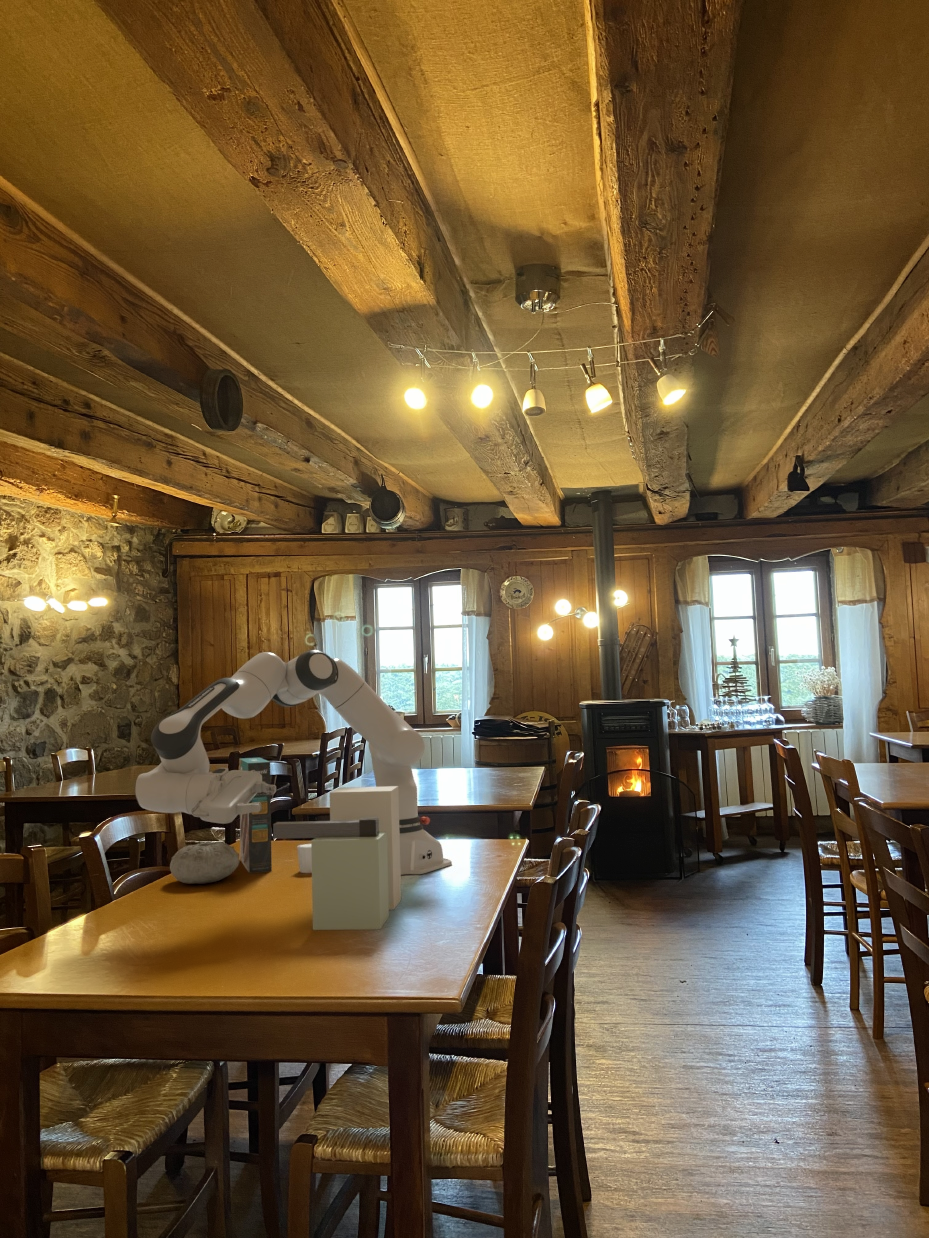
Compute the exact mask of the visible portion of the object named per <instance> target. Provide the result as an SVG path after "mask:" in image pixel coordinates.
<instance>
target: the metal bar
mask: <svg viewBox="0 0 929 1238" xmlns="http://www.w3.org/2000/svg"><path fill="white" fill-rule="evenodd" d="M272 826H273V828H272V829H273V839H277V840H278V839H280V840H281V839H315V838H328V837H376V836H377V835H379V817H372V818H361V819H360V820H351V821H330V820H315V821H313V820H312V821H276V822H275V823H273V824H272Z"/></svg>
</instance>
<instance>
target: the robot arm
mask: <svg viewBox="0 0 929 1238" xmlns="http://www.w3.org/2000/svg"><path fill="white" fill-rule="evenodd" d="M317 694H318V695H320V696H322V697H324V698H325V699H326V701H327V702H328V703H329V704H330V705H331V707H332V708H333V709H334V710H335V711H336V712H337V714H339V715H340V716H341V717H342V718H343V720H344V721H345V722H346V723H347V724H348V725H349V726H350V727H351V729H352V730H354V732H356V733H358V735H360V736H361V737H362V738H363V739H364V740H365V741H366V742H367V743H368V750H369V753H370V757H371V764H372V770H373V777H374V781H375V782H374V783H375V787H386V786H398V795H399V833H400V871H401V876H402V875H422V874H426V873H429V872H432V871H436V870H439V869H442V868H445V867H449V866H451V865H453V864H452V863H453V862H452V861H451V859H448V858H444V853H443V847H442V844H441V842H440V841H439V840H437V839H436V838H435V837H434V836H432V835H431V834H430V833H429V832H427V831H426V830H425V829H424V825H429V824H430V822H431V819H430V818H429V817H428V816H422V817H420V816H419V815H418V813H419V812H418V811H419V810H418V788H417V787H418V786H417V783H416V782H415V779H414V775H413V770H412V765H415V764H417V763H418V762H419V761H420V760H421V759H422V757H423V756H424V753H425V741H424V739H423V737H422V736H421V734H420V733H419V732H418V731H417V730H415V729H414V728H413V727H412V726H411V725H410V724H409V723H408V722H407V721H406V720H405V719H403V717H402V716H400V714H398V713H397V712H396V711H394V710H393V708H391V707H390V706H389V705H388V704H386V702H384V700H383V699H382V698H381V697H380V696H379V695H378V694H377V693H376V691H375V690H374V689H373V688H372V687H371V686H370V685H369V684H368V683H367V682H366V680H365V679H364V678H363V677H362V676H361V675H360V674H359V673H358V672H357V671H356V670H355V669H353V667H351V666H350V665H349V664H347V663H346V662H345V661H344V660H342V659H341V658H338V657H333V658H332V657H331V656H330V655H329V654H327V653H325V652H324V651H322V650H318V649H311V650H307V651H305V652H302V653H301V654H299V655H298V656H296V657H294V658H292V659H290V660H289V661H288V662H285V661H283V660H282V658H281V657H280V656H278V655H277V654H275V653H274V652H270V651H264V652H263V651H262V652H259V653H258V654H255V656H253V657H251V658H250V659H249V660H248V661H246V662H245V663H244V664H243V665H242V666H241V667H240V668H239V669H237V671H236V672H235V673H233V675H232V676H231V677H223V678H219V679H218V680H216V681H214V682H212V683H211V684H210V685H208V686H207V687H205V688H204V689H203V690H202V691H201V692H199V693H197V695H195V696H194V697H193V698H192V699H191V700H189V701H188V702H187V703H185V704H184V705H183V706H182V707H180V708H179V709H178V710H176V711H174V712H173V713H171V714H169V715H167V716H165V717H163V718H162V719H161V720H160V721H159V722H157V723H156V725H155V726H154V728H153V730H152V732H151V735H150V740H151V741H150V742H151V744H152V746H153V748H154V749H155V751H156V753H157V754H158V756H159V759H160V761H161V762H160V763H159V765H157V766H156V767H155V768H153V769H152V770H150V771H148V772H144V773H140V774H138V776H137V778H136V780H135V783H134V785H135V786H134V794H135V799H136V801H137V803H138V805H139V807H141V808H142V809H145V810H147V811H151V812H155V813H156V812H158V813H163V814H165V813H166V814H176V813H177V814H178V813H185V814H188V815H192V816H193V817H194V818H195V817H196V818H200V820H202V821H204V822H210V823H214V824H215V823H216V824H222V825H224V824H230V823H233V821H234V820H235V818H237V816H238V815H239V816H240V815H243V814H247V813H251V812H253V813H258V812H259V811H260V810H261V809H262V807H261V803H260V802H253V803H249V802H250V801H251V799H252V798H253V797H254V796H255V795H256V794H257V793H261V792H265V793H267V795H270V794H271V796H273V795H275V793H276V792H277V786H276V785H275V784H270V785H269V784H267V783H265V782H262V775H261V774H260V773H258V772H253V771H243V770H239V769H233V770H229V768H228V767H218V768H217V769H215V770H213V771H210V769H211V764H210V763H211V762H210V760H209V757H208V753H207V751H206V749H205V746H204V743H203V740H202V737H201V731H202V729H201V728H202V726H203V725H204V723H205V722H207V721H208V720H209V719H210V718H211V717H212V716H214V715H215V714H216V713H217V712H218V711H220V709H222V710H223V711H224V712H225V713H227V714H228V715H229V716H232V717H235V718H239V719H251V718H254V717H255V716H257V715H258V714H259V713H261V712H262V711H264V709H265V708H266V706H268V704H269V703H270V701H271V700H272V702H274V703H276V704H277V705H279V706H281V707H284V708H291V707H292V708H293V707H296V706H298V705H301V704H302V703H304V702H306V701H308V700H310V699H312V698H314V697H315V696H316V695H317ZM248 803H249V804H248Z"/></svg>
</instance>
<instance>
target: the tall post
mask: <svg viewBox="0 0 929 1238" xmlns="http://www.w3.org/2000/svg"><path fill="white" fill-rule="evenodd" d="M372 817H379V832H387V856H388V896H389V911H394V910H395V909H396V908H397V906H398V905H399V903H400V901H401V900H402V883H401V882H402V878H401V877H402V875H401V871H400V833H399V795H398V786H386V787H376V786H351V787H339V788H336V789H334V790H332V791H330V792H329V821H351V820H360V819H361V818H372Z"/></svg>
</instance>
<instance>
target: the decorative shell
mask: <svg viewBox="0 0 929 1238" xmlns="http://www.w3.org/2000/svg"><path fill="white" fill-rule="evenodd" d="M240 862H241V860H240V852H237V850H236V849H235V846H231V845H230V844H227V842H226V843H225V842H221V841H217V842H216V841H215V842H201V843H196V844H190V845H185V846H184V847H182V848H180V849H178V851H176V853H174V854H173V856H172V857H171V860H170V864H169V870H170V872H171V875H172V876H173V877H174V878H175V879H176V880H177V881H179V882H181V883H183V884H186V885H187V884H188V885H192V884H193V885H194V884H198V885H204V884H209V883H215V882H217V881H218V882H219V881H221V880H223V879H225V878H227V877H229V876H230V875H232V874H233V873H234V872H235V870H236V869H237V868H238V867H239V865H240Z"/></svg>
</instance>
